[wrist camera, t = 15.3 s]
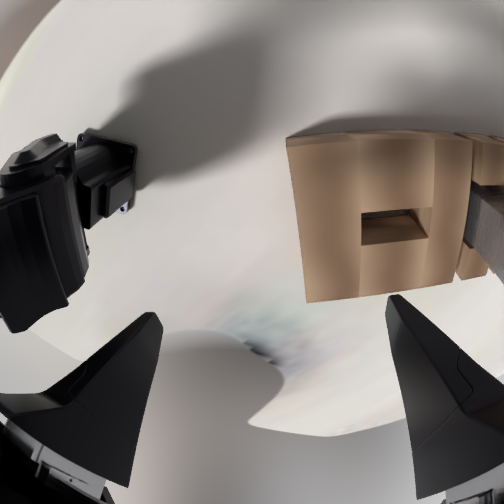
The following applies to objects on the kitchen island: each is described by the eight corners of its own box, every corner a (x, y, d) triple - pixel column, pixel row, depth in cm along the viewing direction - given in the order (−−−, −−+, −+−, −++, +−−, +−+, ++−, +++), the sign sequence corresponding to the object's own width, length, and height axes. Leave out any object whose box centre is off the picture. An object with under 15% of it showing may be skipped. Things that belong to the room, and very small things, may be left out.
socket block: (304, 273, 24) (306, 303, 21) (285, 138, 18) (286, 147, 15) (493, 247, 20) (512, 268, 17) (509, 138, 14) (535, 150, 11)
